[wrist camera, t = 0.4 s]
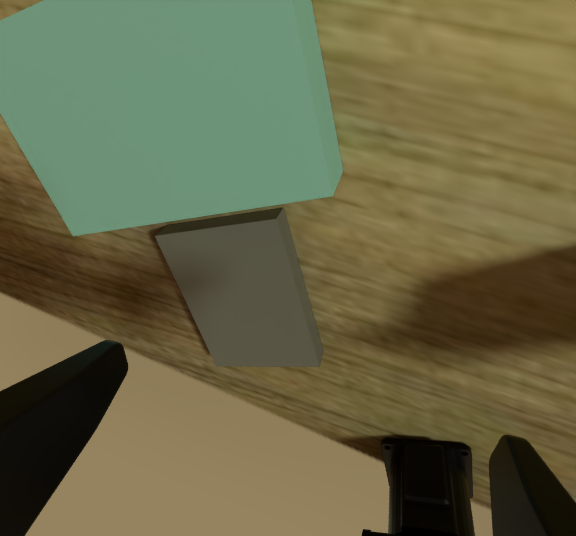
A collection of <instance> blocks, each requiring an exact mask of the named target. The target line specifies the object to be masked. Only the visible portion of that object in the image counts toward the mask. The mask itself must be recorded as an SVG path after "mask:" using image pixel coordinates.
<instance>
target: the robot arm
mask: <svg viewBox="0 0 576 536" xmlns="http://www.w3.org/2000/svg"><path fill="white" fill-rule="evenodd" d="M127 371H128V362H127V359H126V355H125V351H124V348H123V345H122V344H121V343H119V342H115V341H111V340H105V341H102V342H100V343H98V344H96V345H94V346H92V347H90V348H88V349H86V350H84V351H82V352H79V353H77V354H75V355H74V356H71V357H69V358H67V359H65V360H63V361H61V362H59V363H57V364H55V365H53V366H51V367H49V368H47V369H45V370H43V371H41V372H39V373H37V374H35V375H33V376H31V377H29V378H26V379H24V380H22V381H20V382H18V383H16V384H14V385H12V386H10V387H8V388H6V389H4V390H2V391H0V536H25V534H26V533H27V532H28V530H29V529H30V527H31V525H32V524H33V523H34V521H35V520H36V518H37V517H38V515H39V514H40V512H41V511H42V509H43V508H44V506H45V505H46V503H47V502H48V500H49V499H50V497H51V496H52V494H53V493H54V492H55V490H56V489H57V487H58V485H59V484H60V482H61V481H62V480H63V478H64V477H65V475H66V474H67V472H68V471H69V469H70V468H71V466H72V465H73V463H74V462H75V460H76V459H77V457H78V456H79V454H80V453H81V451H82V450H83V448H84V447H85V446H86V444H87V443H88V441H89V440H90V438H91V437H92V435H93V433H94V432H95V430H96V429H97V427H98V425H99V424H100V422H101V420H102V418H103V416H104V415H105V413H106V411H107V409H108V407H109V406H110V404H111V402H112V400H113V398H114V396H115V395H116V393H117V391H118V389H119V387H120V385H121V383H122V382H123V380H124V378H125V376H126V374H127ZM381 449H382V454H383V458H384V463H385V467H386V472H387V477H388V482H389V486H390V492H389V493H390V494H389V525H388V527H389V529H388V533H378V532H371V530H366V529H363V532H362V536H475V532H474V525H473V517H472V511H471V503H470V498H472V497H473V481H472V453H471V448H470V447H469V446H467V445H463V444H449V443H435V442H421V441H407V440H393V439H384V440H382V441H381ZM489 476H490V494H491V511H492V528H493V536H576V502H575V501H574V500H573V498H572V497H571V496H570V494H569V493H568V492H567V491H566V489H565V488H564V487H563V485H562V484H561V483H560V482H559V480H558V479H557V478H556V476H555V475H554V474H553V472H552V471H551V470H550V469H549V467H548V466H547V465H546V463H545V462H544V461H543V460H542V458H541V457H540V456H539V454H538V453H537V452H536V451H535V449H534V448H533V447H532V445H531V444H530V443H529V442H528V441H527V440H525V439H523V438H520V437H516V436H512V435H503V436H502V437H501V439H500V440H499V442H498V444H497V446H496V447H495V449H494V451H493V453H492V454H491V457H490V461H489Z"/></svg>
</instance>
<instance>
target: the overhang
mask: <svg viewBox="0 0 576 536" xmlns="http://www.w3.org/2000/svg"><path fill="white" fill-rule="evenodd" d="M0 114H1V115H2V117H3V119H4V120H5V122H6V124H7V126H8V127H9V129H10V131H11V132H12V134H13V136H14V137H15V139H16V141H17V142H18V144H19V146H20V148H21V149H22V151H23V153H24V154H25V156H26V158H27V159H28V161H29V163H30V164H31V166H32V168H33V169H34V171H35V173H36V175H37V176H38V178H39V180H40V181H41V183H42V185H43V186H44V188H45V190H46V191H47V193H48V195H49V197H50V198H51V200H52V202H53V203H54V205H55V207H56V208H57V210H58V212H59V213H60V215H61V217H62V218H63V220H64V222H65V224H66V225H67V227H68V229H69V230H70V232H71V234H72V235H73V236H78V235H84V234H91V233H97V232H104V231H110V230H117V229H123V228H130V227H136V226H143V225H149V224H156V223H162V222H169V221H175V220H182V219H188V218H195V217H201V216H208V215H214V214H220V213H227V212H233V211H240V210H246V209H253V208H259V207H266V206H272V205H279V204H285V203H292V202H298V201H305V200H311V199H318V198H324V197H331V196H333V194H334V192H335V189H336V187H337V184H338V182H339V180H340V177H341V175H342V172H343V167H342V162H341V157H340V151H339V146H338V141H337V135H336V130H335V124H334V119H333V114H332V108H331V103H330V98H329V92H328V87H327V82H326V76H325V71H324V66H323V60H322V55H321V49H320V44H319V39H318V33H317V28H316V23H315V17H314V12H313V7H312V1H311V0H44V1H41V2H39V3H37V4H35V5H33V6H31V7H28V8H26V9H24V10H22V11H20V12H18V13H16V14H13V15H11V16H9V17H7V18H5V19H3V20H1V21H0Z"/></svg>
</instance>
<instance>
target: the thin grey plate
mask: <svg viewBox="0 0 576 536" xmlns="http://www.w3.org/2000/svg"><path fill="white" fill-rule="evenodd" d="M155 238H156V240H157V242H158V244H159V246H160V249H161V251H162V253H163V255H164V257H165V259H166V261H167V263H168V265H169V268H170V270H171V272H172V274H173V276H174V278H175V280H176V282H177V284H178V286H179V289H180V291H181V293H182V295H183V297H184V299H185V301H186V303H187V305H188V308H189V310H190V312H191V314H192V316H193V318H194V320H195V322H196V324H197V326H198V329H199V331H200V333H201V335H202V337H203V339H204V341H205V343H206V345H207V348H208V350H209V352H210V354H211V356H212V358H213V360H214V362H215V364H216V366H270V367H320V363H321V359H322V355H323V348H322V344H321V340H320V337H319V333H318V330H317V326H316V322H315V319H314V315H313V312H312V308H311V305H310V301H309V297H308V294H307V290H306V287H305V283H304V279H303V276H302V272H301V269H300V265H299V261H298V258H297V254H296V251H295V247H294V243H293V240H292V236H291V233H290V229H289V225H288V222H287V218H286V215H285V211H284V208H278V209H271V210H265V211H258V212H251V213H245V214H238V215H231V216H225V217H218V218H211V219H205V220H198V221H191V222H185V223H178V224H172V225H167V226H166V227H164V228H163V229H162V230H161V231H160V232H159V233H157V234H156V235H155Z"/></svg>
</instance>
